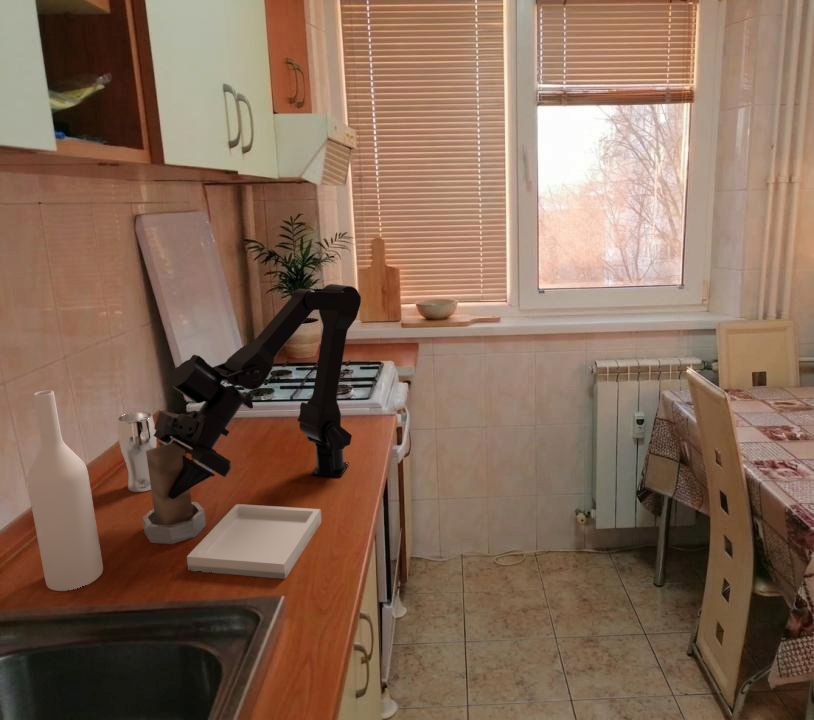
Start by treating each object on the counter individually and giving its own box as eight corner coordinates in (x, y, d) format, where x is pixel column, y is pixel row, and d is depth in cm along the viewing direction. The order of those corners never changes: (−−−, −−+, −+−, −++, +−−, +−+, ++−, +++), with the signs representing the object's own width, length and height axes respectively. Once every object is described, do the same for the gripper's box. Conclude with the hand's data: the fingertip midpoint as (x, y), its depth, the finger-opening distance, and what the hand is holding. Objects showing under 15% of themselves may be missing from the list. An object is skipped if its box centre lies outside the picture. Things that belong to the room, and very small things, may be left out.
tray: (237, 516, 120) (236, 503, 119) (321, 521, 117) (320, 509, 116) (188, 570, 103) (186, 556, 102) (285, 578, 100) (284, 564, 99)
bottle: (36, 593, 98) (-1, 402, 90) (59, 564, 106) (28, 386, 98) (91, 590, 98) (60, 399, 91) (111, 560, 106) (83, 383, 99)
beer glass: (121, 485, 134) (111, 416, 131) (155, 475, 139) (146, 408, 135) (132, 496, 129) (122, 424, 125) (167, 486, 133) (158, 416, 130)
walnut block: (182, 520, 119) (172, 442, 115) (194, 529, 116) (185, 449, 112) (156, 529, 116) (145, 450, 112) (168, 539, 112) (157, 458, 109)
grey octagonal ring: (165, 514, 121) (163, 500, 120) (213, 518, 119) (211, 503, 119) (135, 541, 112) (133, 525, 111) (186, 545, 110) (184, 529, 110)
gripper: (158, 383, 119) (104, 457, 114) (207, 404, 106) (148, 488, 101) (202, 413, 126) (153, 484, 121) (254, 436, 113) (201, 517, 108)
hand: (162, 492), depth 113 cm, fingers open, 6 cm apart
